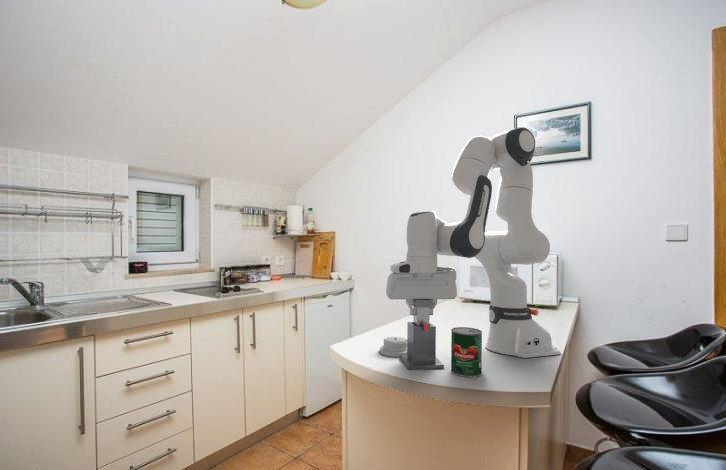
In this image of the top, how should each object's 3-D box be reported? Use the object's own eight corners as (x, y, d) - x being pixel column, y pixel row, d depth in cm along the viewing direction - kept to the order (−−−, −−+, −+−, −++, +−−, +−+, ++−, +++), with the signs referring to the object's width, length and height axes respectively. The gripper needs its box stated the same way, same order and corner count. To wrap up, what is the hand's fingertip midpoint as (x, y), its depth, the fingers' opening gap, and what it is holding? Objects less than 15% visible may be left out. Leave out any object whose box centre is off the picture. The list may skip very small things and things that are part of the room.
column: (426, 356, 102) (427, 297, 103) (432, 361, 97) (432, 300, 98) (410, 356, 102) (410, 297, 102) (414, 361, 97) (415, 300, 98)
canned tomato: (455, 377, 89) (455, 333, 89) (447, 366, 97) (447, 326, 97) (486, 377, 89) (486, 334, 90) (476, 367, 97) (476, 327, 97)
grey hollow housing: (432, 357, 105) (432, 317, 106) (444, 368, 95) (444, 324, 96) (399, 358, 104) (400, 317, 104) (408, 369, 94) (408, 324, 94)
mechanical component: (412, 358, 104) (410, 349, 114) (412, 343, 105) (411, 335, 114) (378, 357, 105) (380, 348, 115) (379, 342, 106) (380, 334, 115)
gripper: (452, 266, 105) (451, 312, 105) (385, 265, 103) (384, 313, 102) (460, 267, 99) (460, 316, 98) (389, 266, 96) (389, 317, 96)
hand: (421, 315), depth 100 cm, fingers closed on column, 4 cm apart
